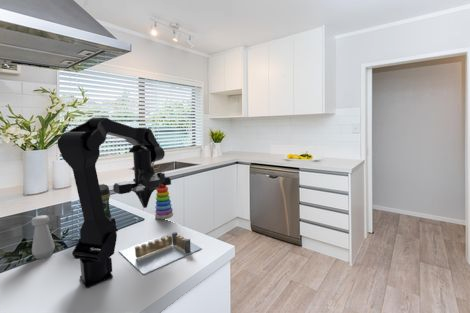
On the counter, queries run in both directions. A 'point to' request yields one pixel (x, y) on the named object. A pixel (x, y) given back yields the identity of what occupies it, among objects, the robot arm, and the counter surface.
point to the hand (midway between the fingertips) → (145, 207)
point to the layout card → (156, 256)
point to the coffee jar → (105, 199)
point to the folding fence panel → (153, 246)
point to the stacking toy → (163, 203)
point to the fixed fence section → (181, 242)
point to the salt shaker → (42, 238)
